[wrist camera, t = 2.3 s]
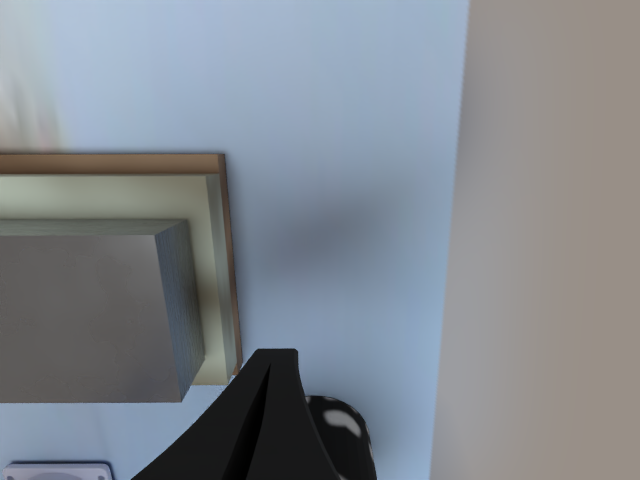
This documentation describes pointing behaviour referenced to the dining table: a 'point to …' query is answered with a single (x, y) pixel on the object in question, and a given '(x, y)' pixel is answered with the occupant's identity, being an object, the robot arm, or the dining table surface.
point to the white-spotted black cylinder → (343, 437)
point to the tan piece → (145, 203)
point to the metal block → (97, 311)
